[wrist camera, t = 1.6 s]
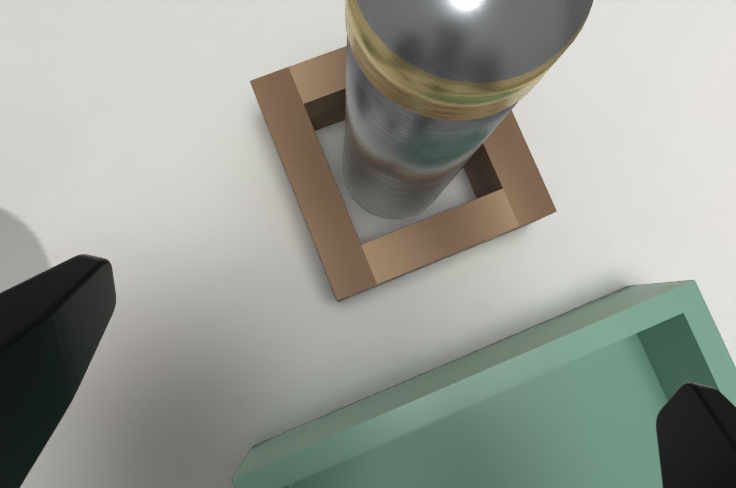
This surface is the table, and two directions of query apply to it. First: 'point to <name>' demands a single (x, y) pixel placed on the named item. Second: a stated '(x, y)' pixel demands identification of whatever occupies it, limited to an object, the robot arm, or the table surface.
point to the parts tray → (520, 406)
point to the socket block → (415, 242)
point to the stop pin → (438, 87)
